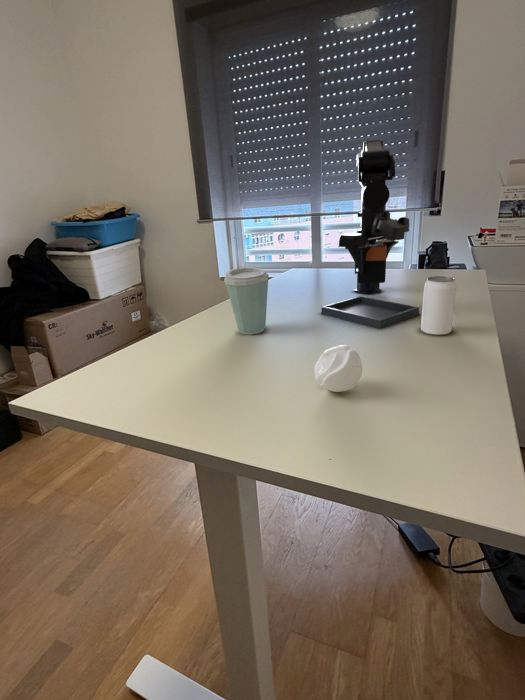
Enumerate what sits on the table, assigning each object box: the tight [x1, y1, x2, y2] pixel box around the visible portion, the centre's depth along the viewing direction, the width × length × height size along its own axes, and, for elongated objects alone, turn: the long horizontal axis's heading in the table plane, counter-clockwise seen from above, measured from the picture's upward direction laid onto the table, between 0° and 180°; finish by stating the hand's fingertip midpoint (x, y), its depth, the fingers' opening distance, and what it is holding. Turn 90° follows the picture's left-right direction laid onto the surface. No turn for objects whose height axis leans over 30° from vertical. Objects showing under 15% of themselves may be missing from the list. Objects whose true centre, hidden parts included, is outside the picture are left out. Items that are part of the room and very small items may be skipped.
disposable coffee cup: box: [223, 266, 270, 335], centre depth 98 cm, size 11×11×15 cm
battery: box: [358, 240, 387, 284], centre depth 103 cm, size 4×7×10 cm, turn 75°
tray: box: [320, 295, 420, 330], centre depth 108 cm, size 20×16×2 cm
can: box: [420, 275, 457, 336], centre depth 90 cm, size 6×6×12 cm
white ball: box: [313, 344, 363, 393], centre depth 67 cm, size 8×8×8 cm
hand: (371, 271), depth 104 cm, fingers closed on battery, 7 cm apart
